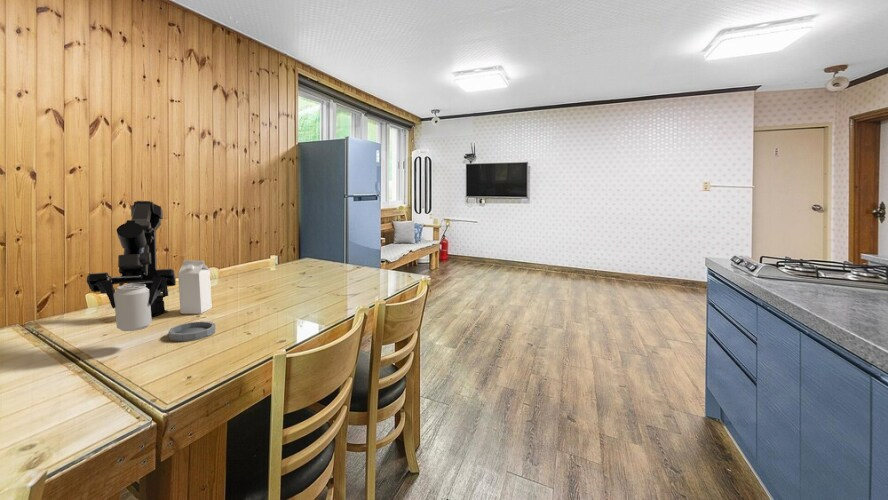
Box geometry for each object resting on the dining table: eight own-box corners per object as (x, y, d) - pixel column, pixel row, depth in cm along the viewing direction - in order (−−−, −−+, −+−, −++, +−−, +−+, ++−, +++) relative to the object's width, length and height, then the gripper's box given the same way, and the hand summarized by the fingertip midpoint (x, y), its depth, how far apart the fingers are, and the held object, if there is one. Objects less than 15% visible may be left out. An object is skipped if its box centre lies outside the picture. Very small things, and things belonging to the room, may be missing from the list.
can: (133, 333, 98) (129, 289, 96) (109, 331, 99) (105, 287, 97) (159, 324, 105) (155, 283, 104) (136, 322, 106) (132, 281, 104)
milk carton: (192, 308, 139) (189, 258, 136) (212, 308, 139) (209, 259, 137) (180, 314, 132) (177, 262, 129) (201, 314, 132) (198, 262, 130)
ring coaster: (159, 339, 108) (159, 333, 108) (190, 326, 120) (189, 320, 119) (196, 342, 107) (195, 335, 107) (223, 328, 118) (223, 322, 118)
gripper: (84, 243, 97) (76, 294, 89) (172, 241, 107) (171, 286, 99) (95, 267, 105) (88, 316, 97) (176, 263, 115) (175, 307, 107)
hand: (132, 305), depth 100 cm, fingers closed on can, 7 cm apart
